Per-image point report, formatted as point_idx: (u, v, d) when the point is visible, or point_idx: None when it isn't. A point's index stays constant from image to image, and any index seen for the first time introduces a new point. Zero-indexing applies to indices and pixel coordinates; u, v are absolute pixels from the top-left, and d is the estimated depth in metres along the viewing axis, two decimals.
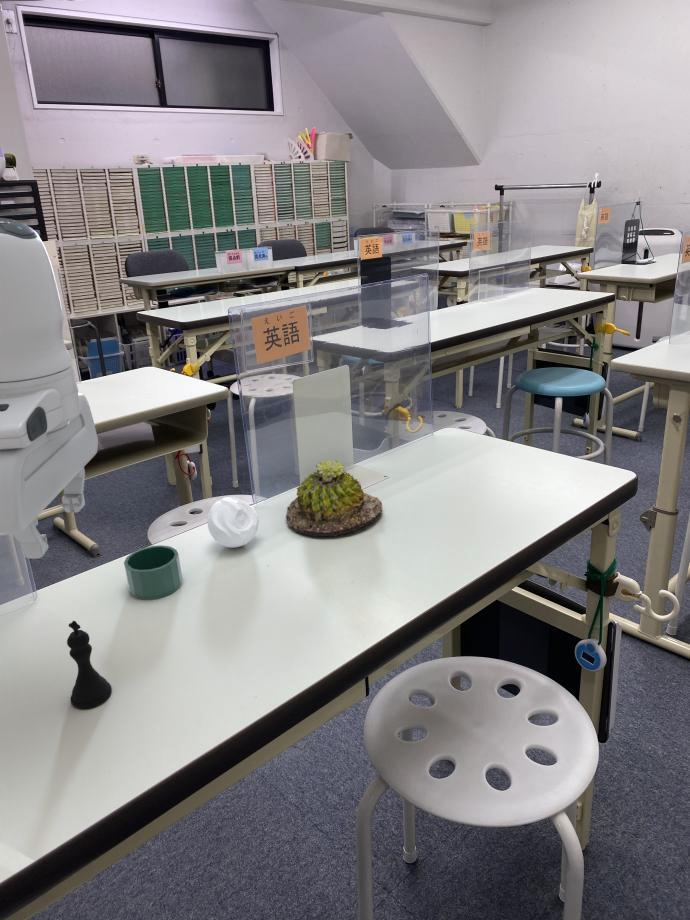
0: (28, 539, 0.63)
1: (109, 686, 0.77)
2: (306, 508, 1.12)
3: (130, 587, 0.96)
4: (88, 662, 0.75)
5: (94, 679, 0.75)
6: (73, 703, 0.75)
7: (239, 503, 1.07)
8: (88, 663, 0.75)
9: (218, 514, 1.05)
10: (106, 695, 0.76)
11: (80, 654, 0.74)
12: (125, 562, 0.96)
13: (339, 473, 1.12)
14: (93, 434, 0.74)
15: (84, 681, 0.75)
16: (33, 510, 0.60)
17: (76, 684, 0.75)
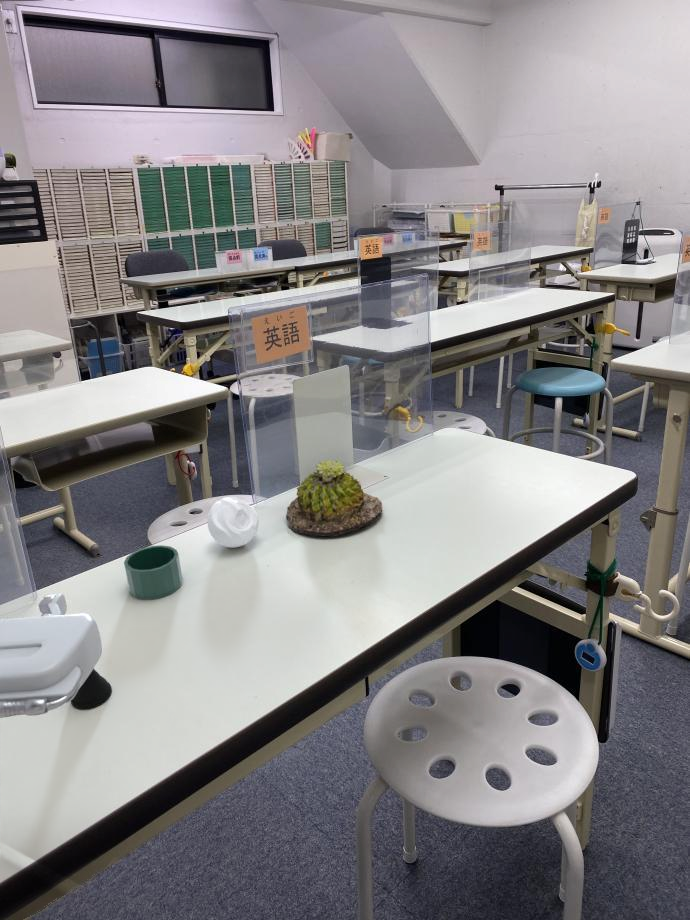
0: None
1: (109, 686, 0.77)
2: (306, 508, 1.12)
3: (130, 587, 0.96)
4: None
5: (94, 679, 0.75)
6: (73, 703, 0.75)
7: (239, 503, 1.07)
8: None
9: (218, 514, 1.05)
10: (106, 695, 0.76)
11: None
12: (125, 562, 0.96)
13: (339, 473, 1.12)
14: None
15: None
16: None
17: None
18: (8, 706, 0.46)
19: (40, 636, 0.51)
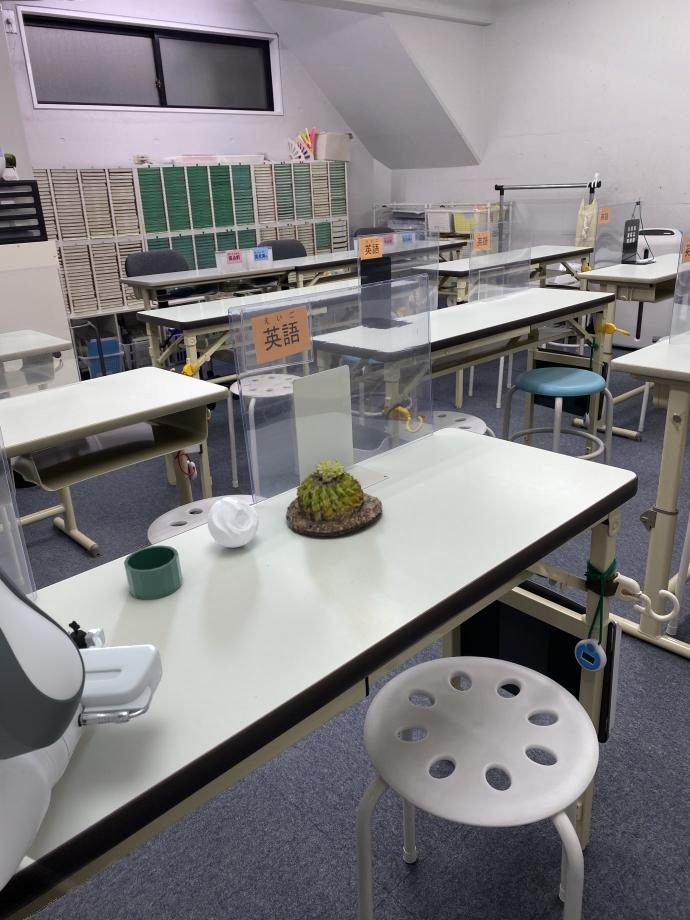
0: None
1: None
2: (306, 508, 1.12)
3: (130, 587, 0.96)
4: None
5: None
6: None
7: (239, 503, 1.07)
8: None
9: (218, 514, 1.05)
10: None
11: None
12: (125, 562, 0.96)
13: (339, 473, 1.12)
14: None
15: None
16: None
17: None
18: (101, 716, 0.62)
19: (119, 662, 0.67)
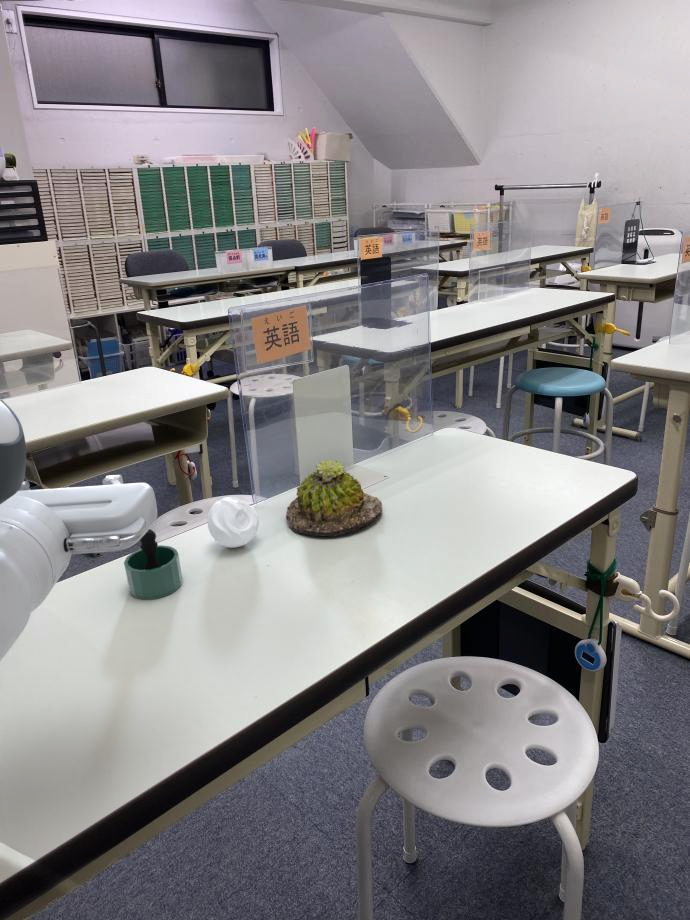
0: None
1: None
2: (306, 508, 1.12)
3: (130, 587, 0.96)
4: (154, 555, 0.96)
5: None
6: None
7: (239, 503, 1.07)
8: (154, 555, 0.96)
9: (218, 514, 1.05)
10: None
11: (149, 547, 0.95)
12: (125, 562, 0.96)
13: (339, 473, 1.12)
14: None
15: None
16: None
17: None
18: (89, 540, 0.57)
19: (109, 495, 0.62)
